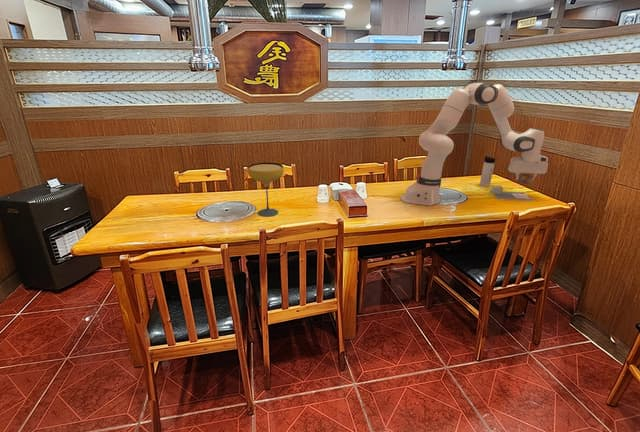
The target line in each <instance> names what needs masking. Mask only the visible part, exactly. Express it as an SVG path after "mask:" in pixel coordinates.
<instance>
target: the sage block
mask: <svg viewBox="0 0 640 432" xmlns="http://www.w3.org/2000/svg"><path fill="white" fill-rule="evenodd" d="M490 191H491V192H492V193H493V194H502V192H504V187H503V186H502V185H500V184H499V185H498V184H492V185H491V188H490ZM491 192H490V193H491ZM492 193H491V194H492ZM493 194H492V195H493Z"/></svg>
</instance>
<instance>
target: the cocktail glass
mask: <svg viewBox="0 0 640 432" xmlns="http://www.w3.org/2000/svg"><path fill="white" fill-rule="evenodd" d="M284 172H285V171H284V166H283V164H280V163H276V162H258V163H253V164H251V165H248V167H247V175H248V176H249V177H250V178H251V179H252V180H254V181H257V182H260V183H261V184H263V186H265V192H266V193H265V194H266V208H263V209H260V210H258V211H257V215H258V216H261V217H265V218H266V217H269V218H270V217H274V216H276V215H278V214H279V210H278V209H276V208H270V207H269V205H270V204H269V194H268V187H269V185H270V184H271V183H273V182H274V181H277V180H278V179H280V178H281V177H282V176H283V175H284Z"/></svg>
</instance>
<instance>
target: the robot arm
mask: <svg viewBox="0 0 640 432" xmlns="http://www.w3.org/2000/svg"><path fill="white" fill-rule="evenodd" d="M470 104H471V105H478V106H484V105H485V106H486V105H487V106H488V108H489V110H490V112H491V115H492V117H493V120H494V123H495V126H496V128H497V131H498V134H499V143H500V144H499V145H500V146H501V147H502V148H503V149H507V150H510V151H513V152H516V153H521V156H512V157H511V158H510V159H509V165H508V168H507V170H508V172H509V173H514V174H515V176H516V181H517V180H520V178H521V177H519V175H518V174H532V176H533V181H534V179H535V178H536V177H537V176H538V174H540V175H544V174H546V173H547V172H548V167H549V163H548V162H549V158H548V157H547V156H545V155H542V154H541V152H542V151H541V149H542V146H543V145H544V139H545V131H544V130H543V129H540V128H535V127H530V128H528V130H526V131H525V132H522V133H518V132H515V131H514V130H512V128H511V124H510V123H509V120H508V118H510V117H511V116H512V115H513V114H514V111H515V105H514V102H513V100H512V98H511V95H510V94H509V92H508V90H507V89H506V88H505V87H504V85H502V84H500V83H496V84H491V83H488V82H470V83H468V84H466V85H465V86H463V88H461V87H458V88H456V89H453V90H452V92H451V93H450V94H449V96H448V97H447V99H446V100H445V102H444V104H443V105H442V108H441V110H440V111H439V113H438V115H437V116H436V118H435V120H434V121H433V122H432V124H431V125H430V126H429V127H428V128H427V129H426V130H425V131H423V132H422V133H421V134H420V135H419V138H418V144H419V146H420V147H421V148H422V149H423V150H424V151H426V152H428V153H427V156H426V158H425V160H423V162H422V164H421V170H420V171H421V172H420V175H418V174H416V175H415V176H414V177H415V179H416V182H414V183H412V184H411V185H409V186H407V188H406V189H405V192H404V193H402V194H401V195H400V200H401V202H403V203H405V204H413V205H421V206H430V207H431V206H433V205H436V204H440V203H441V199H440V198H441V197H440V196H441V195H440V188H441V186H442V174H443V173H442V172H443V166H444V164H445V163H444V162H445V161H446V158H447V157H448V155H450V154H451V153H452V152H453V150H454V147H455V144H454V141H453V140H452V139H451V138H450V137H449V136H448V134H449V132H450V131H452V130H453V129H455V128H456V127H457V125H458V124H459V122H460V121H461V120H460V119H461V118H462V117H463V115H464V113H465V110H466V108H468V106H469V105H470Z"/></svg>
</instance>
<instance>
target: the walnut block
mask: <svg viewBox="0 0 640 432" xmlns="http://www.w3.org/2000/svg"><path fill="white" fill-rule="evenodd" d="M518 175H519V177H521V178H520V180H516V182H518V183H520V184H521V185H522V184H523V185H532V184H533V181H534V180H533V174H531V173H519V174H518Z"/></svg>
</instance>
